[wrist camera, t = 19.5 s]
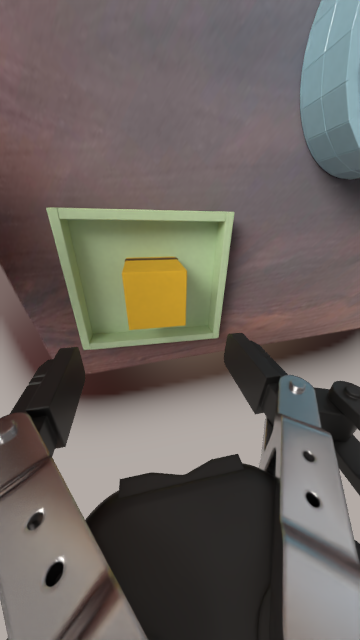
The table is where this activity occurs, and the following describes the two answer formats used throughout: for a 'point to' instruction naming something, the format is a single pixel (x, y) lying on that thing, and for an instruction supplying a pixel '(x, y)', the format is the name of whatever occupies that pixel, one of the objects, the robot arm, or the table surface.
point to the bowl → (333, 88)
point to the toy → (154, 292)
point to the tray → (140, 241)
